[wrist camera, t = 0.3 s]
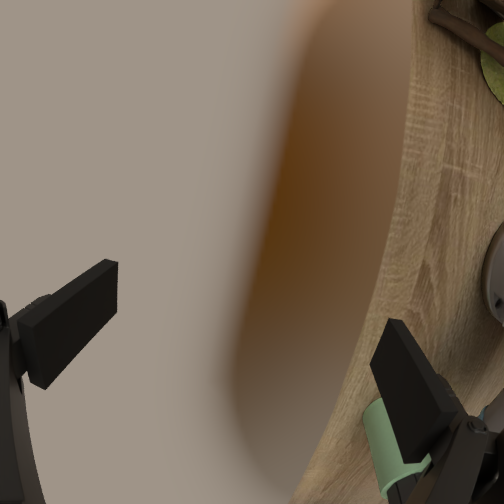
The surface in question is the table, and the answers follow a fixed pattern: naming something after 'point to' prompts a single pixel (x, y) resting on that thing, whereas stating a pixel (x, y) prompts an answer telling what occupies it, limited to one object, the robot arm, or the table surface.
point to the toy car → (497, 13)
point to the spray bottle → (386, 448)
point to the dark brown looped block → (470, 28)
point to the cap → (402, 489)
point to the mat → (494, 63)
